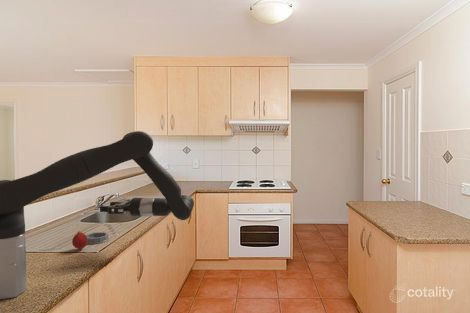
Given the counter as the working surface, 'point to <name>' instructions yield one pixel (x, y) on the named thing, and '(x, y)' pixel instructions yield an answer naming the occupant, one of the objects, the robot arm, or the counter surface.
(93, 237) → the grey round tray
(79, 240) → the onion
